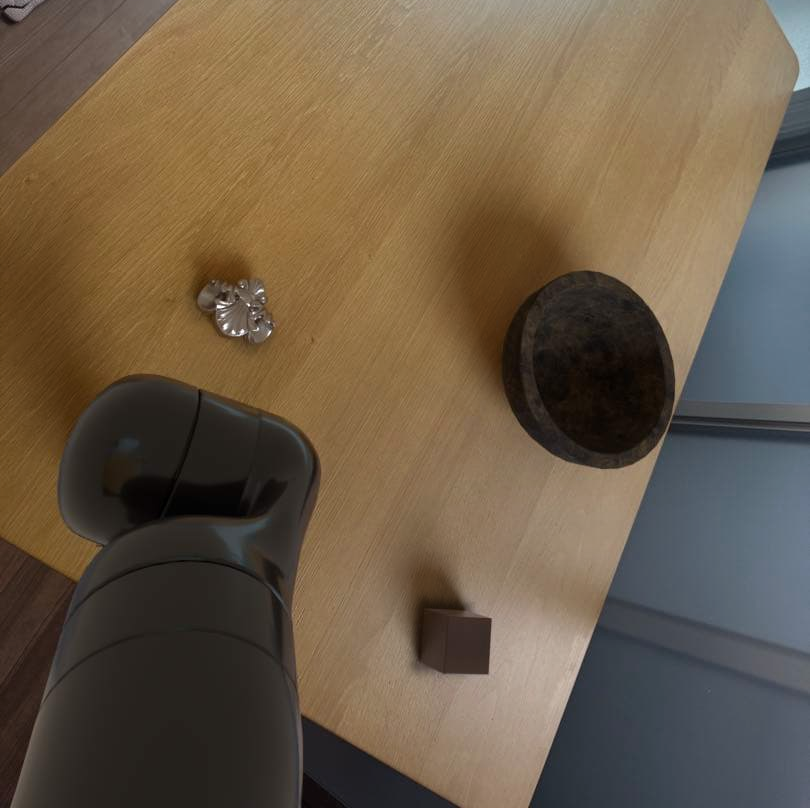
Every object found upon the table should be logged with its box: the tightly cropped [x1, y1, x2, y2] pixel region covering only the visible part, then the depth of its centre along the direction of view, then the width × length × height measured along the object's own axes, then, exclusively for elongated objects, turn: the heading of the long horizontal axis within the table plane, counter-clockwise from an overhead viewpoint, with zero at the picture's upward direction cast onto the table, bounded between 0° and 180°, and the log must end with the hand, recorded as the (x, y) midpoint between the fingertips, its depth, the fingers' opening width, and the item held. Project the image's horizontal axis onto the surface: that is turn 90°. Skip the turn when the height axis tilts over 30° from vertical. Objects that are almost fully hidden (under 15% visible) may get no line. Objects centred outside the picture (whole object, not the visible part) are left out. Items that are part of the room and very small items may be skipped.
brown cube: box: [419, 607, 493, 676], centre depth 72 cm, size 5×5×5 cm
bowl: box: [500, 269, 676, 470], centre depth 84 cm, size 22×22×10 cm
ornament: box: [196, 277, 277, 347], centre depth 72 cm, size 8×7×4 cm
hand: (116, 475), depth 59 cm, fingers open, 7 cm apart
